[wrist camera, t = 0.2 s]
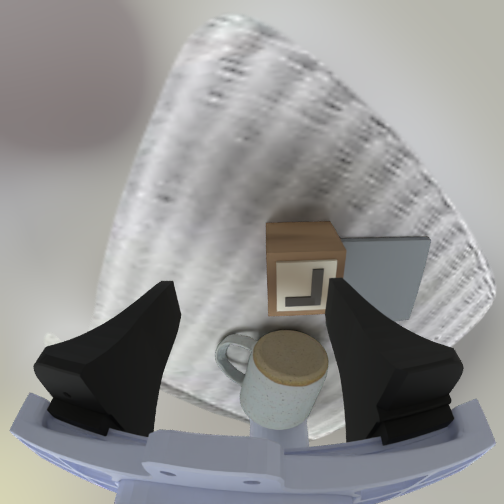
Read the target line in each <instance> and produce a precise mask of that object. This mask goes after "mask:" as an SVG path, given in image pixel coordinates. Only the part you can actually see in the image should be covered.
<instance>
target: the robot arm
mask: <svg viewBox="0 0 504 504" xmlns="http://www.w3.org/2000/svg"><path fill="white" fill-rule="evenodd" d="M325 316H326V323H327V329H328V334H329V337H330V341H331V344H332V348H333V351H334V354H335V358H336V362H337V365H338V369H339V373H340V378H341V385H342V392H343V401H344V410H345V423H346V443H340V444H332V445H324V446H314V447H309V441H308V429H307V418H306V419H305V420H304V421H303V422H302V423H301V424H299V425H298V426H296V427H293V428H290V429H284V430H275V429H268V428H266V427H263V426H261V425H259V424H257V423H255V422H254V421H252V420H251V419H250V437H249V436H225V435H211V434H200V433H190V432H182V431H175V430H157V431H155V432H154V422H155V414H156V406H157V400H158V395H159V389H160V385H161V380H162V375H163V372H164V369H165V366H166V363H167V360H168V357H169V355H170V352H171V349H172V347H173V344H174V341H175V338H176V335H177V332H178V328H179V324H180V319H181V312H180V308H179V304H178V300H177V295H176V291H175V287H174V283H173V281H161V282H159V283H158V284H156V285H155V286H154V287H153V288H151V289H150V290H149V291H148V292H146V293H145V294H144V295H143V296H141V297H140V298H139V299H138V300H137V301H135V302H134V303H133V304H131V305H130V306H129V307H127V308H126V309H125V310H123V311H122V312H121V313H119V314H118V315H117V316H115V317H114V318H112V319H110V320H109V321H107V322H105V323H104V324H102V325H100V326H98V327H97V328H95V329H93V330H91V331H89V332H87V333H85V334H82V335H80V336H78V337H75V338H73V339H70V340H67V341H64V342H61V343H58V344H54V345H51V346H47V347H45V349H44V350H43V352H42V353H41V355H40V356H39V358H38V359H37V361H36V363H35V364H34V371H35V374H36V376H37V378H38V379H39V380H40V382H41V383H42V384H43V386H44V387H45V388H46V390H47V391H48V392H49V393H50V394H51V396H52V397H53V399H52V401H51V403H50V402H49V401H48V400H47V399H45V398H43V397H40V396H38V395H36V394H33V393H29V395H28V397H27V398H26V400H25V402H24V403H23V405H22V407H21V409H20V411H19V413H18V415H17V417H16V418H15V420H14V422H13V424H12V426H11V429H10V432H11V433H12V434H13V435H14V436H15V437H17V439H19V440H20V441H21V442H22V443H24V444H25V445H26V446H27V447H28V448H30V449H31V450H32V451H33V452H35V453H36V454H37V455H39V456H40V457H41V458H43V459H45V460H47V461H48V462H50V463H52V464H55V465H56V466H58V467H60V468H62V469H64V470H66V471H68V472H70V473H72V474H74V475H76V476H78V477H80V478H82V479H84V480H86V481H88V482H91V483H93V484H95V485H98V486H100V487H102V488H105V489H107V490H110V491H113V492H115V493H117V494H116V498H115V502H114V504H376V503H379V502H383V501H386V500H390V499H393V498H396V497H399V496H402V495H405V494H407V493H410V492H413V491H415V490H418V489H421V488H423V487H425V486H428V485H430V484H433V483H435V482H437V481H440V480H442V479H444V478H446V477H448V476H451V475H453V474H455V473H457V472H459V471H461V470H463V469H465V468H466V467H468V466H469V465H470V464H471V463H473V462H475V461H476V460H477V459H479V458H480V457H481V456H482V455H484V454H485V453H486V452H488V451H489V450H490V449H491V448H492V447H494V446H495V444H496V442H495V439H494V437H493V434H492V432H491V429H490V427H489V425H488V422H487V420H486V417H485V415H484V413H483V410H482V408H481V406H480V404H479V402H478V400H477V399H473V400H471V401H469V402H466V403H463V404H461V405H458V406H457V407H455V408H454V409H452V410H451V409H450V406H449V404H450V403H451V398H450V395H449V393H450V392H451V390H452V389H453V388H454V386H455V385H456V383H457V382H458V380H459V379H460V377H461V375H462V372H463V364H462V362H461V360H460V358H459V357H458V355H457V353H456V352H455V350H454V348H451V347H448V346H445V345H442V344H438V343H435V342H433V341H430V340H428V339H426V338H423V337H421V336H419V335H417V334H415V333H413V332H411V331H409V330H407V329H406V328H404V327H402V326H400V325H399V324H397V323H396V322H394V321H393V320H391V319H390V318H388V317H387V316H385V315H384V314H383V313H381V312H380V311H379V310H377V309H376V308H375V307H374V306H373V305H371V304H370V303H369V302H368V301H367V300H366V299H364V298H363V297H362V296H361V295H360V294H359V293H358V292H357V291H356V290H355V289H354V288H353V287H352V286H351V285H350V284H349V283H348V282H346V281H345V280H344V279H343V278H329V285H328V294H327V302H326V309H325Z"/></svg>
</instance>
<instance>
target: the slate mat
mask: <svg viewBox="0 0 504 504" xmlns="http://www.w3.org/2000/svg"><path fill="white" fill-rule="evenodd" d="M341 241H342V243H343V245H344V247H345V249H346V250H347V252H346V261H345V269H344V277H343V279H344V280H345V281H346V282H348V283H349V284H350V285H351V286H352V287H353V288H354V289H355V290H356V291H357V292H358V293H359V294H360V295H361V296H362V297H363V298H364V299H366V300H367V301H368V302H369V303H370V304H371V305H373V306H374V307H375V308H376V309H377V310H379V311H380V312H381V313H383V314H384V315H385V316H387V317H388V318H390V319H391V320H393V321H401V320H408V319H409V317H410V315H411V312H412V309H413V306H414V302H415V299H416V296H417V293H418V290H419V286H420V283H421V279H422V276H423V272H424V268H425V264H426V260H427V256H428V252H429V248H430V243H431V239H430V238H429V237H401V238H354V239H341ZM326 326H327V323H326Z"/></svg>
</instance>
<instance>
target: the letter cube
mask: <svg viewBox="0 0 504 504" xmlns="http://www.w3.org/2000/svg"><path fill="white" fill-rule="evenodd" d="M346 252H347V250H346V249H345V247H344V245H343V243H342V241H341V239H340V238H339V236H338V234H337V232H336V231H335V229H334V227H333V225H332V224H331V222H330V221H319V222H279V223H266V261H267V289H268V316H293V315H313V314H325V309H326V302H327V294H328V285H329V278H343V277H344V269H345V261H346Z"/></svg>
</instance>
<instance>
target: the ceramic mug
mask: <svg viewBox="0 0 504 504" xmlns="http://www.w3.org/2000/svg"><path fill="white" fill-rule="evenodd" d="M230 344H232V345H237V346H240V347H243V348H244V349H247V350H249V351H251V355H250V358H249V362H248V366H247V371H246V374H243V373H242V372H240V371H239V370H237V369H236V368H235V367H234V366H233V365H232V364H231V363H230V362H229V360H228V359H227V357H226V350H227V347H229V345H230ZM215 360H216V363H217V365H218V367H219V368H220V369H221V371H222V372H223V373H224V374H225V375H226V376H227V377H228V378H230V379H231V380H232V381H233V382H235V383H237V384H238V385H240V386H241V387H242V388H241V392H240V403H241V406H242V408H243V410H244V412H245V414H246V415H247V416H248V417H249V418H250V419H251V420H252V421H254V422H255V423H257V424H259V425H261V426H263V427H266V428H268V429H275V430H284V429H290V428H293V427H296V426H298V425H299V424H301V423H302V422H303V421H304V420H305V419H306V418H307V417H308V415H309V414H310V411H311V409H312V407H313V405H314V403H315V401H316V398H317V396H318V394H319V392H320V390H321V387H322V385H323V383H324V381H325V378H326V375H327V370H328V356H327V353H326V351H325V349H324V348H323V347H322V345H321V344H320V343H319V342H318V341H317V340H315V339H314V338H312V337H310V336H309V335H307V334H304V333H301V332H297V331H293V330H279V331H274V332H271V333H268V334H266V335H264V336H263V337H262V338H260V339H259V341H257V340H254V339H253V338H251V337H248V336H243V335H239V334H233V335H229V336H227V337H226V338H225V339H224V340H223V341H222V342H221V343H220V344H219V345H218V347H217V349H216V352H215Z"/></svg>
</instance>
